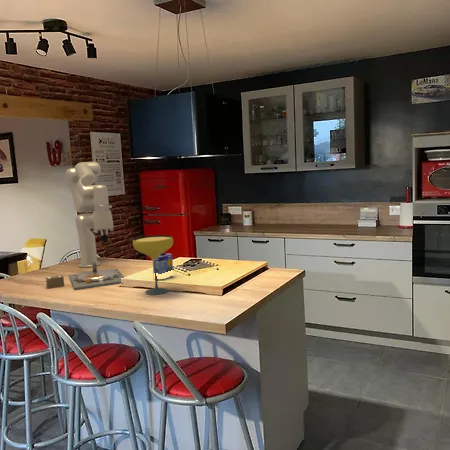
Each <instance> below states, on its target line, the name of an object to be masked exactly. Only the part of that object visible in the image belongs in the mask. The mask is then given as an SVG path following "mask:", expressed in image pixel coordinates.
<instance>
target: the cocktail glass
mask: <svg viewBox="0 0 450 450" xmlns="http://www.w3.org/2000/svg"><path fill="white" fill-rule="evenodd" d="M173 244H174V239H173V236H172V235H166V234H155V235H154V234H153V235H145V236H139V237H136V238H133V239H132V246H133V248H134V250H136V252H138V253H141V254H143V255H146V256H148V257H149V258H150V259H151V260H152V261H153V260H154V269H155V279H154V280H155V283H154V287H153V288H150V289H147V290H146V291H144V293H145V294H146V295H149V296H157V295H164V294H166V293H168V292H169V289H168V288H166V289H165V287H159V284H158V280H157V276H156V264H155V260H156V259H157V258H158V256H159V255H160V254H162V253H165V251H166V252H167V251H168V250H170V248H172V246H173Z"/></svg>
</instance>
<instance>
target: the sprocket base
mask: <svg viewBox="0 0 450 450" xmlns="http://www.w3.org/2000/svg"><path fill="white" fill-rule="evenodd" d="M113 269H114V268H112V269H111V268H110V269H109V270H113ZM115 269H116V271H120V269H118V268H115ZM76 274H77V273H74V274H68V278H69V281H70V284H72V288H73V290H74V291H79V290H86V289H87V290H88V289H92V288H93V289H94V288H101V287H107V286H113V285H114V286H115V285H121V284H122V283H121V278H124V277H126V276H125V275H124V274H123V273H122V272H121V271H120V276H119V277H114V279H111V280H109V279H107V280H103V279H99V282H98V281H94V282H90V283H86V282H77V280H75V281H74V280H73V277H75V276H74V275H76ZM79 274H81V273H79ZM120 283H121V284H120Z"/></svg>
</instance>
